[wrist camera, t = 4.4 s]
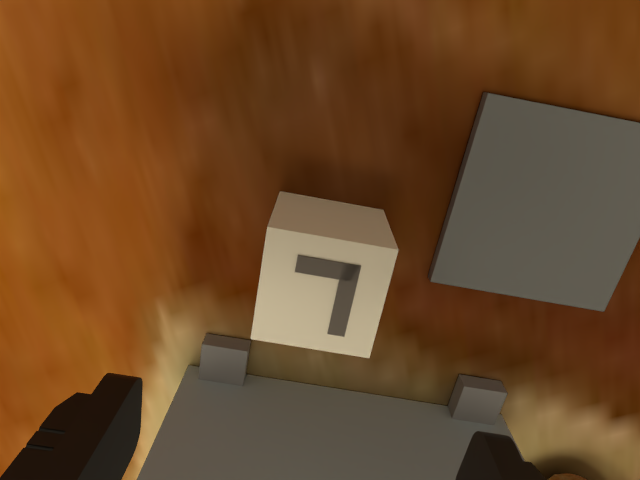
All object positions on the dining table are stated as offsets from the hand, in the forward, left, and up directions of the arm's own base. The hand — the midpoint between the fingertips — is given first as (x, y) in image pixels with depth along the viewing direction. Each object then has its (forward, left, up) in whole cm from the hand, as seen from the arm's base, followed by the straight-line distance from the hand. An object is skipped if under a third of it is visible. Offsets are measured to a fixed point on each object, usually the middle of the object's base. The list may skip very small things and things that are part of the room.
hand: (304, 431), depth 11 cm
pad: (-10, -4, -12) cm, 16 cm away
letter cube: (0, 0, -12) cm, 12 cm away
